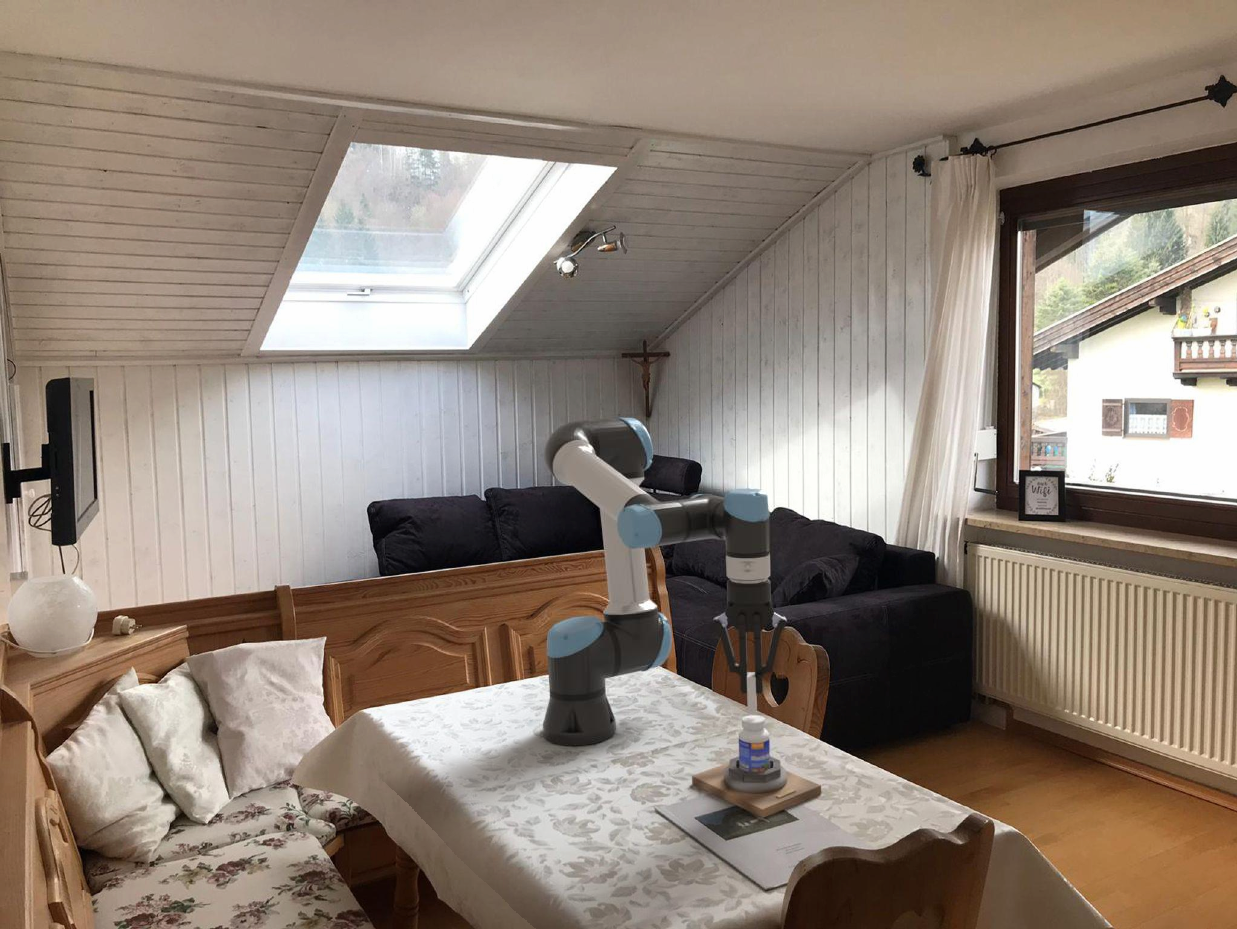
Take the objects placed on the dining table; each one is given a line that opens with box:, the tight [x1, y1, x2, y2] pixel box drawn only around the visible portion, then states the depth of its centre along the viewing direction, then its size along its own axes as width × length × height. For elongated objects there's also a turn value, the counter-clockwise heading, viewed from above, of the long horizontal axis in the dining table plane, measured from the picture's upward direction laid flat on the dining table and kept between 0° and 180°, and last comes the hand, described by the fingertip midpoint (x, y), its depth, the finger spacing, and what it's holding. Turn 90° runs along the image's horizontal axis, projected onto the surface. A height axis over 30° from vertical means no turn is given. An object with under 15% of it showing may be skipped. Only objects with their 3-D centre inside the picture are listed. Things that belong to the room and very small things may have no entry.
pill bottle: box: [738, 714, 771, 772], centre depth 174 cm, size 5×5×10 cm
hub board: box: [691, 755, 822, 819], centre depth 174 cm, size 18×14×4 cm
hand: (752, 710), depth 173 cm, fingers closed
